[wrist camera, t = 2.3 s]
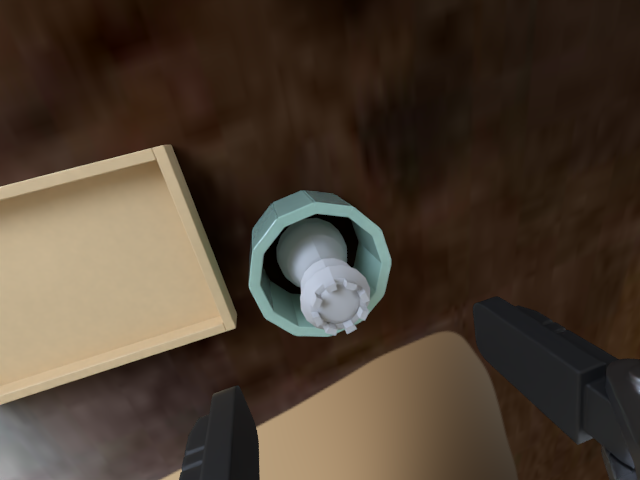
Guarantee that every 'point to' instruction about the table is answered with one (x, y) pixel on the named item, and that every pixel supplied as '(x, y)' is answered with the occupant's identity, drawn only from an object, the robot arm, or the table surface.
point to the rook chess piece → (323, 275)
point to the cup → (290, 210)
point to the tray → (102, 271)
